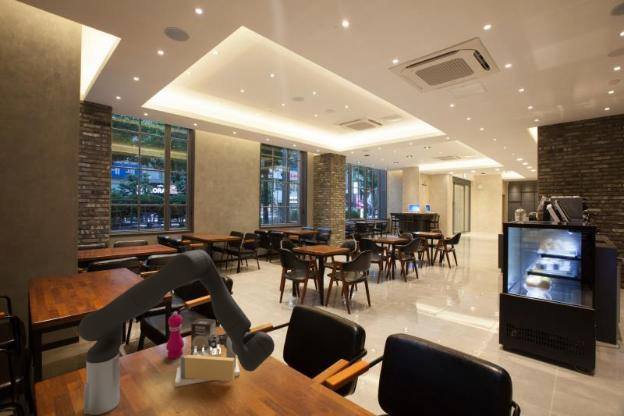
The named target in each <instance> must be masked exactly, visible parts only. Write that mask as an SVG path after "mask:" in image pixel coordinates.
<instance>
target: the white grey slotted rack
mask: <svg viewBox="0 0 624 416" xmlns="http://www.w3.org/2000/svg"><path fill="white" fill-rule="evenodd" d="M225 349H226V348H225ZM225 353H226V356H225V357H227V358H235V377H237V376H240V375H241V373H240V367H239V360H238V357H237V355H235V354H233V353H232V352H230V351H229V350H227V349H226V352H225ZM210 381H211V380H207V379H194V378H181V377H180V366H178V367H177V368H176V374H175V380H174V387H181V386H186V385H192V384H197V383H205V382H210Z"/></svg>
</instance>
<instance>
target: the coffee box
mask: <svg viewBox="0 0 624 416" xmlns="http://www.w3.org/2000/svg"><path fill="white" fill-rule="evenodd" d="M216 321H217V319H212V318H211V319H208V318H199V317H198V318H196V319H195V320H194V321H193V322H192V323H191V324H190V329H191V332H190V333H191V334H190V337H191V338H190V355H193V351H194V348H195V346H197V351H200V350H202V345H204V350H207V349H210V346H208V338H211V336H212V335H213V334H214V335H216V326H217V325H216V324H217V323H216ZM212 349H214V348H212Z"/></svg>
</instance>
